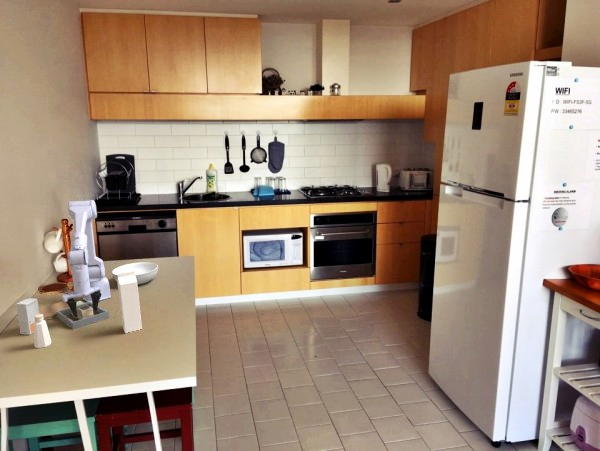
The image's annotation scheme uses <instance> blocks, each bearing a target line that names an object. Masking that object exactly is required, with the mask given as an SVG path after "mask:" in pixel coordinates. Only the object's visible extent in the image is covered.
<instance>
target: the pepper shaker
mask: <svg viewBox="0 0 600 451" xmlns="http://www.w3.org/2000/svg"><path fill="white" fill-rule="evenodd" d="M34 318H35V322H34V333H33V344H34V348H37V349H42V348H46V347H49V346H51V344H52V338H51V335H50V332H49V328H48V325H47V322H46V321H47V320H43V319H44V318H43V314H37V315H35V316H34Z"/></svg>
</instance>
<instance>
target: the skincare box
mask: <svg viewBox="0 0 600 451" xmlns="http://www.w3.org/2000/svg"><path fill="white" fill-rule="evenodd" d="M38 300H39V299H38V298H31V297H27V298H25V299H23V300H21V301H19V302H17V303H16V304H15V307H16V312H17V319H18V325H19V331H20V335H25V336H31V335H32V334H34V322H35V318H34V316H35V315H37V314H39V308H40V307H39V301H38Z"/></svg>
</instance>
